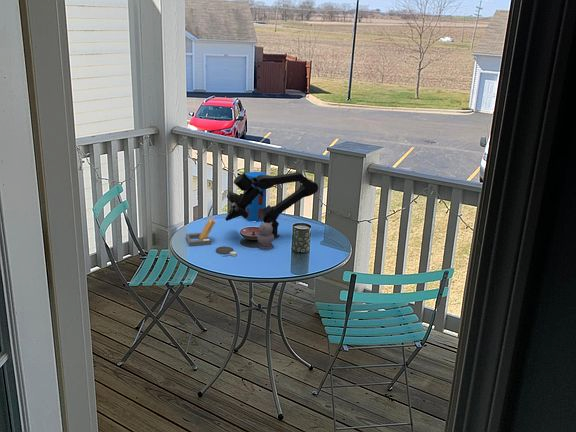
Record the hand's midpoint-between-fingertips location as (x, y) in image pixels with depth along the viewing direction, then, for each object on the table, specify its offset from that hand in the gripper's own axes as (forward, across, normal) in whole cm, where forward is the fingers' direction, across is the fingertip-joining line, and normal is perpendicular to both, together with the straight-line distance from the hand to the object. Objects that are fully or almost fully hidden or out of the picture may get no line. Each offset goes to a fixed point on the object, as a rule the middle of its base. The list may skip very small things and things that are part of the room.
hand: (226, 220), depth 267 cm
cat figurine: (-4, +12, +19) cm, 23 cm away
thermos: (-8, -27, +23) cm, 37 cm away
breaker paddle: (+16, 0, -2) cm, 16 cm away
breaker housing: (+17, 0, -2) cm, 17 cm away
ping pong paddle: (+10, +16, +5) cm, 19 cm away
